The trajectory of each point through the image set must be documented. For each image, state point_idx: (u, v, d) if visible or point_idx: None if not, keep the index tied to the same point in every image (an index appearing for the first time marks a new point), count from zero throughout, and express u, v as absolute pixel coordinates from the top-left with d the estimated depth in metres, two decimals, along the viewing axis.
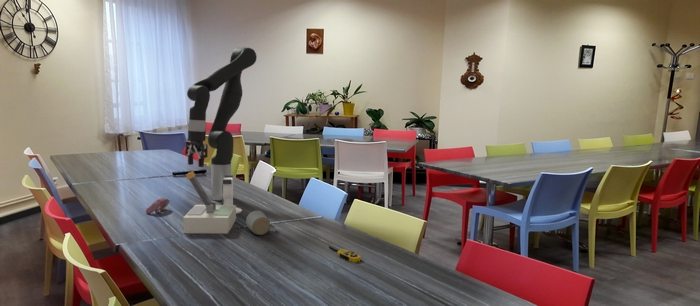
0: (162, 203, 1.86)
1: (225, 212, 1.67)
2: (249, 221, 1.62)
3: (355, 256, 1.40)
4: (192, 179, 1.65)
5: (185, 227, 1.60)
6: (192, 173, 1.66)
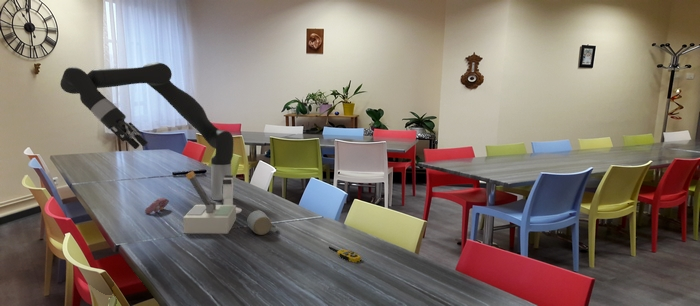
0: (161, 203, 1.86)
1: (225, 212, 1.67)
2: (250, 221, 1.62)
3: (355, 256, 1.40)
4: (192, 179, 1.65)
5: (185, 227, 1.60)
6: (192, 173, 1.66)
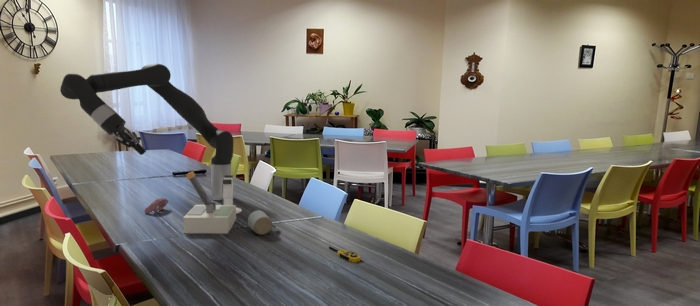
0: (161, 203, 1.86)
1: (225, 212, 1.67)
2: (251, 221, 1.62)
3: (355, 256, 1.40)
4: (192, 179, 1.65)
5: (185, 227, 1.60)
6: (192, 173, 1.66)
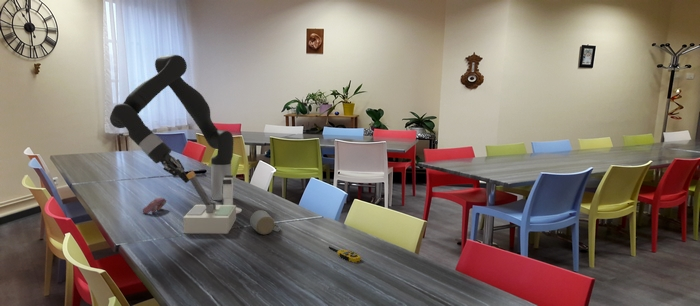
0: (159, 203, 1.86)
1: (225, 212, 1.67)
2: (253, 221, 1.62)
3: (355, 256, 1.40)
4: (192, 179, 1.65)
5: (185, 227, 1.60)
6: (192, 173, 1.66)
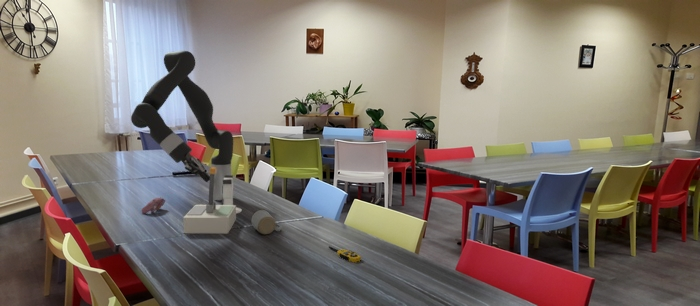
0: (158, 203, 1.86)
1: (225, 212, 1.67)
2: (254, 220, 1.63)
3: (355, 256, 1.40)
4: (212, 175, 1.66)
5: (185, 227, 1.60)
6: (215, 170, 1.67)
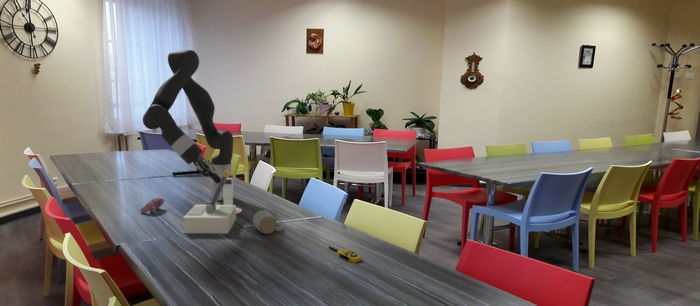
0: (157, 203, 1.86)
1: (225, 212, 1.67)
2: (256, 220, 1.63)
3: (355, 256, 1.40)
4: (224, 178, 1.66)
5: (185, 227, 1.60)
6: None
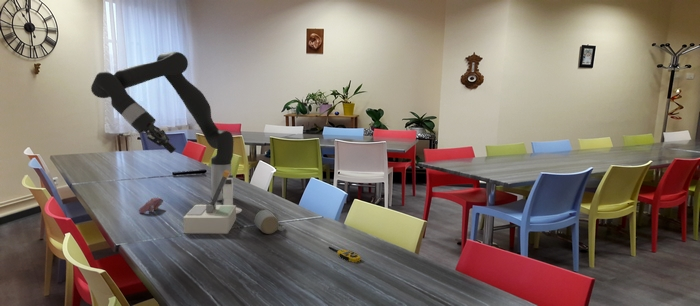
0: (155, 203, 1.86)
1: (225, 212, 1.67)
2: (258, 220, 1.63)
3: (355, 256, 1.40)
4: (224, 178, 1.66)
5: (185, 227, 1.60)
6: (229, 174, 1.67)
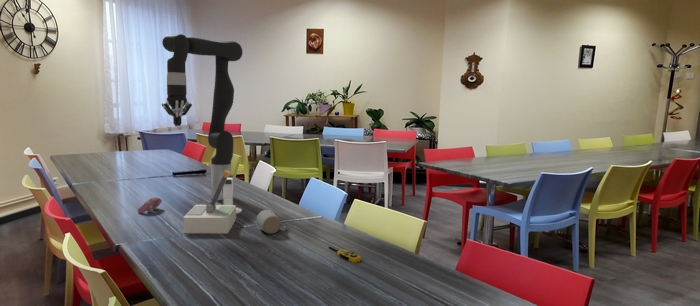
0: (154, 202, 1.86)
1: (225, 212, 1.67)
2: (260, 220, 1.63)
3: (355, 256, 1.40)
4: (224, 178, 1.66)
5: (185, 227, 1.60)
6: (229, 174, 1.67)
